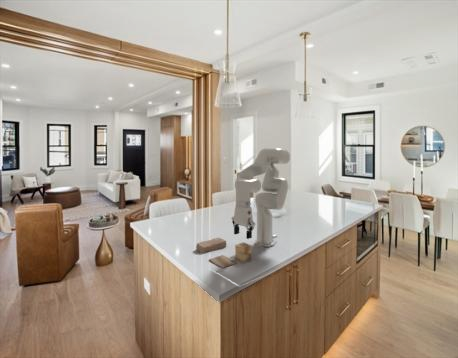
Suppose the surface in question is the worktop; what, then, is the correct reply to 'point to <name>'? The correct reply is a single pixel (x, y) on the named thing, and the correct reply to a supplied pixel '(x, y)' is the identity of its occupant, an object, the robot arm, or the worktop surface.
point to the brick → (210, 245)
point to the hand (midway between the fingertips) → (242, 236)
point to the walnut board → (222, 261)
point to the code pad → (243, 261)
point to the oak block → (243, 251)
